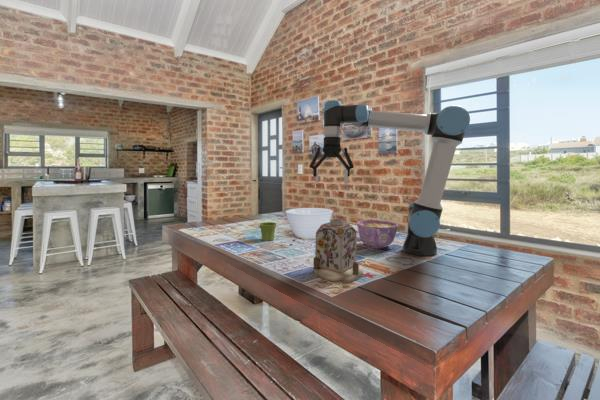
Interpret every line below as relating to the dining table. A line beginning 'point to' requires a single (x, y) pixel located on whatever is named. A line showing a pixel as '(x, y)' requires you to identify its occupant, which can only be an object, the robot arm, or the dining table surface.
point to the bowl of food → (377, 232)
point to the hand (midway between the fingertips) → (331, 183)
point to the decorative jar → (336, 246)
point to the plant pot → (268, 230)
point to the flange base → (345, 276)
